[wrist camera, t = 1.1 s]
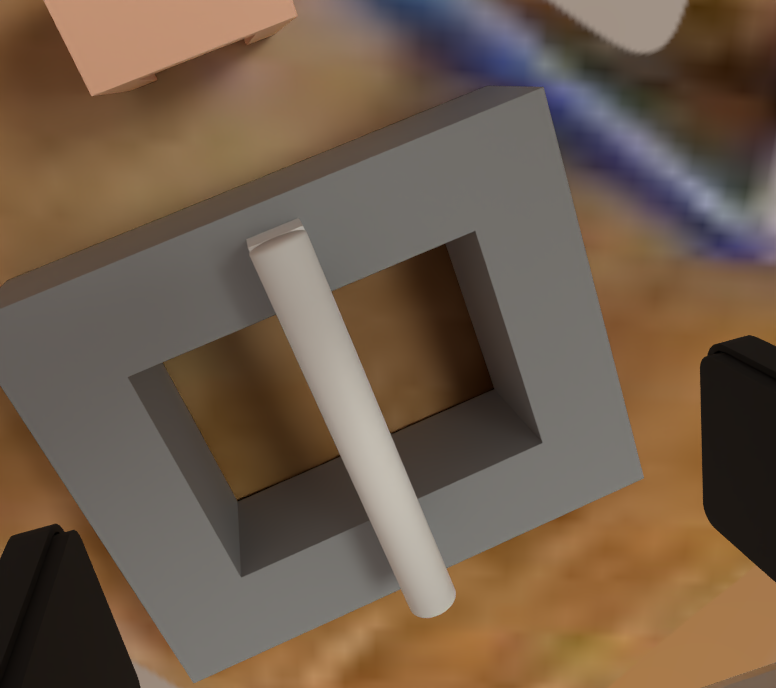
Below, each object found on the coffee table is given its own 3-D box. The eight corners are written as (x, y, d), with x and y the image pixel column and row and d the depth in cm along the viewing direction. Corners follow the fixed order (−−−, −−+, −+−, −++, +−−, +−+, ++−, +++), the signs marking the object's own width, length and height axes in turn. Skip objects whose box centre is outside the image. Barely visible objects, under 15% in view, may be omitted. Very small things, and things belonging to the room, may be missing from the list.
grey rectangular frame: (487, 85, 32) (588, 87, 23) (583, 421, 39) (689, 520, 30) (7, 280, 30) (-78, 361, 22) (197, 594, 37) (191, 750, 29)
